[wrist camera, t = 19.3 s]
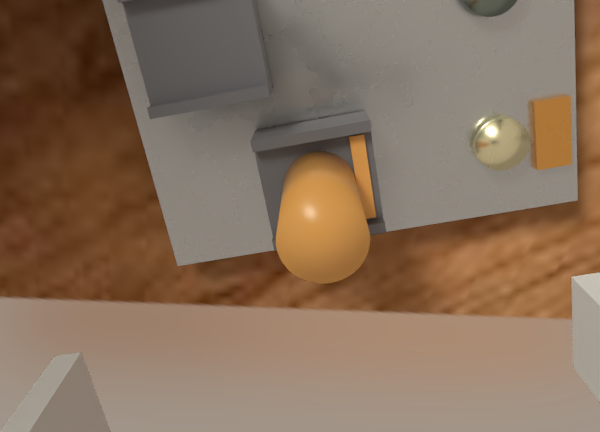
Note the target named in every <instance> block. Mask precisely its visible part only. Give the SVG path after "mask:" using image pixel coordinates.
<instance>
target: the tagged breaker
mask: <svg viewBox="0 0 600 432" xmlns="http://www.w3.org/2000/svg"><path fill="white" fill-rule="evenodd" d="M371 131H372V129H371V122H370V119H369V117H368V115H367V113H366V111H361V112H355V113H350V114H344V115H339V116H333V117H328V118H322V119H317V120H311V121H306V122H300V123H295V124H289V125H284V126H278V127H272V128H267V129H261V130H256V131H255V132H254V135H253V137H252V139H251V141H250V142H251V147H252V151H253V152H255V157H256V161H257V166H258V171H259V175H260V180H261V184H262V189H263V194H264V198H265V203H266V207H267V212H268V217H269V221H270V226H271V231H272V235H273V238H272V243H273V248H274V251H276V250H277V248H276V232H277V226H278V219H279V212H280V205H281V198H282V191H283V184H284V178H285V174H286V172H287V170H288V168H289V167H290V165H291V164H292V163H293V162H294V161H295V160H296V159H297V158H299V157H300V156H302V155H304V154H306V153H308V152H313V151H327V152H331V153H334V154H336V155H338V156H340V157H341V158H342V159H344V160H345V161H346V162H347V163H348V165H349V166H350V167H351V169H352V171H353V174H354V177H355V180H356V184H357V188H358V191H359V195H360V199H361V202H362V206H363V210H364V213H365V217H366V221H367V224H368V228H369V232H370V235H374V234H380V233H386V227H385V221H384V219H383V212H382V205H381V198H380V191H379V184H378V177H377V170H376V163H375V156H374V149H373V142H372V135H371Z"/></svg>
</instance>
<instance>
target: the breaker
mask: <svg viewBox="0 0 600 432" xmlns="http://www.w3.org/2000/svg"><path fill="white" fill-rule="evenodd" d="M117 1H118V3H122V4H123V7H124V11H125V14H126V18H127V22H128V25H129V29H130V33H131V36H132V40H133V44H134V47H135V51H136V55H137V58H138V62H139V66H140V69H141V73H142V77H143V80H144V84H145V88H146V91H147V95H148V99H149V102H150V106H149V107H148V108H147V110H148V114H149V117H150V119H154V118H160V117H165V116H171V115H176V114H181V113H187V112H192V111H198V110H203V109H208V108H214V107H219V106H225V105H230V104H235V103H241V102H246V101H252V100H257V99H262V98H268V97H270V95H271V93H272V91H273V87H272V82H271V77H270V72H269V67H268V62H267V57H266V52H265V47H264V42H263V37H262V32H261V27H260V21H259V16H258V11H257V6H256V1H255V0H117Z"/></svg>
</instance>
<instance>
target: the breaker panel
mask: <svg viewBox="0 0 600 432" xmlns="http://www.w3.org/2000/svg"><path fill="white" fill-rule="evenodd" d="M102 1H103V5H104V8H105V12H106V15H107V19H108V23H109V26H110V30H111V33H112V37H113V40H114V44H115V47H116V51H117V54H118V58H119V61H120V65H121V68H122V72H123V75H124V79H125V82H126V86H127V89H128V93H129V97H130V100H131V104H132V107H133V111H134V114H135V118H136V121H137V125H138V128H139V132H140V135H141V139H142V142H143V146H144V149H145V153H146V156H147V160H148V163H149V167H150V170H151V174H152V178H153V181H154V185H155V188H156V192H157V195H158V199H159V202H160V206H161V209H162V213H163V216H164V220H165V223H166V227H167V230H168V234H169V237H170V241H171V244H172V248H173V251H174V255H175V259H176V262H177V266H181V265H188V264H194V263H200V262H206V261H212V260H218V259H224V258H230V257H236V256H242V255H248V254H255V253H261V252H267V251H273V250H274V248H273V243H272V238H273V235H272V231H271V226H270V221H269V217H268V212H267V207H266V203H265V198H264V194H263V189H262V184H261V180H260V175H259V171H258V166H257V161H256V157H255V152H253V151H252V147H251V142H250V141H251V139H252V137H253V135H254V132H255V131H256V130H261V129H267V128H272V127H278V126H284V125H289V124H295V123H300V122H306V121H311V120H317V119H322V118H328V117H333V116H339V115H344V114H350V113H355V112H361V111H366V113H367V115H368V117H369V119H370V122H371V129H372V131H371V135H372V142H373V149H374V156H375V163H376V170H377V177H378V184H379V191H380V198H381V205H382V212H383V219H384V221H385V227H386V232H389V231H395V230H401V229H407V228H413V227H419V226H425V225H431V224H437V223H443V222H449V221H456V220H462V219H468V218H474V217H480V216H486V215H492V214H498V213H504V212H510V211H516V210H523V209H529V208H535V207H541V206H547V205H553V204H559V203H565V202H571V201H577V200H578V182H577V127H576V72H575V17H574V0H255V1H256V6H257V11H258V16H259V21H260V27H261V32H262V37H263V42H264V47H265V52H266V57H267V62H268V67H269V72H270V77H271V82H272V87H273V91H272V93H271V95H270V97H268V98H262V99H257V100H252V101H246V102H241V103H235V104H230V105H225V106H219V107H214V108H208V109H203V110H198V111H192V112H187V113H181V114H176V115H171V116H165V117H160V118H154V119H150V117H149V114H148V110H147V108H148V107H149V106H150V102H149V99H148V95H147V91H146V88H145V84H144V80H143V77H142V73H141V69H140V66H139V62H138V58H137V55H136V51H135V47H134V44H133V40H132V36H131V33H130V29H129V25H128V22H127V18H126V14H125V11H124V7H123V4H122V3H118V1H117V0H102Z"/></svg>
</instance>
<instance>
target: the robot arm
mask: <svg viewBox="0 0 600 432" xmlns="http://www.w3.org/2000/svg"><path fill="white" fill-rule="evenodd" d="M572 328H573V329H572V331H573V332H572V334H573V367H574V368H575V370H576V371H577V373H578V374H579V375H580V377H581V378H582V379H583V381H584V382H585V383H586V385H587V386H588V387H589V389H590V390H591V391H592V393H593V394H594V395H595V397H596V398H597V399H598V401H599V402H600V273H593V274H587V275H580V276H574V277H572ZM0 432H110V429H109V426H108V424H107V421H106V418H105V415H104V413H103V410H102V407H101V405H100V402H99V399H98V396H97V394H96V391H95V389H94V385H93V383H92V380H91V378H90V375H89V372H88V369H87V366H86V364H85V361H84V358H83V356H82V353H81V352H79V353H71V354H65V355H58V356H54V357H53V359H52V360H51V362H50V363H49V364H48V366H47V367H46V368H45V370H44V371H43V373H42V374H41V375H40V377H39V378H38V379H37V381H36V382H35V384H34V385H33V386H32V388H31V389H30V391H29V392H28V393H27V395H26V396H25V398H24V399H23V400H22V402H21V403H20V405H19V406H18V407H17V409H16V410H15V411H14V413H13V414H12V416H11V417H10V418H9V420H8V421H7V423H6V424H5V425H4V427H3V428H2V429H1V431H0Z"/></svg>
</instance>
